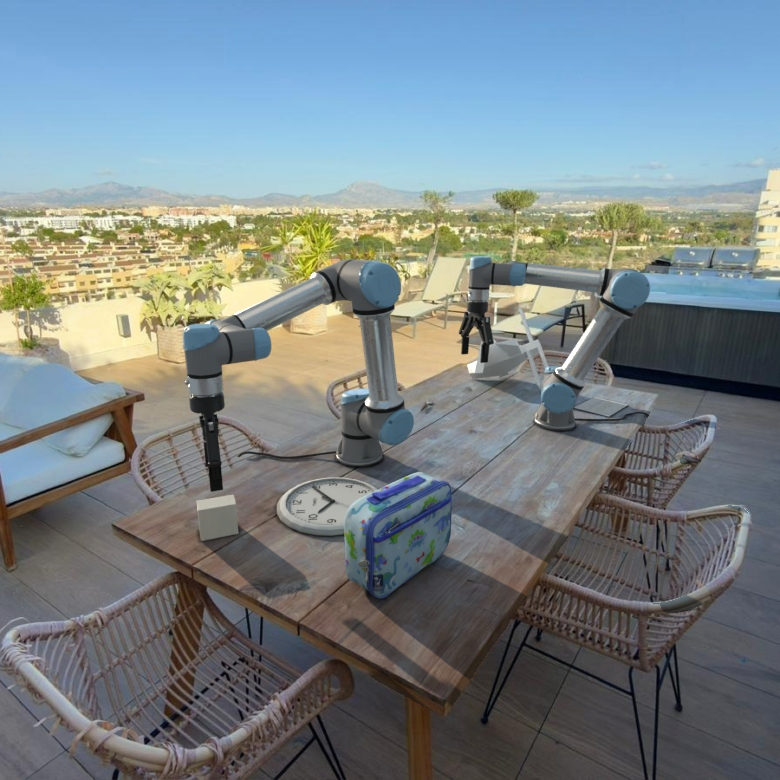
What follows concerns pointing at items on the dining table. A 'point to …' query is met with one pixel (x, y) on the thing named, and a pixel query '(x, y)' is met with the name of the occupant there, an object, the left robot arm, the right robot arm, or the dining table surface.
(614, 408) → the invitation card
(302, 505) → the wall clock
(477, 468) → the dining table surface
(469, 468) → the dining table surface
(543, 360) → the white plastic object
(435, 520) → the lunch box
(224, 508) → the block
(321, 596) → the dining table surface
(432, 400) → the fork
